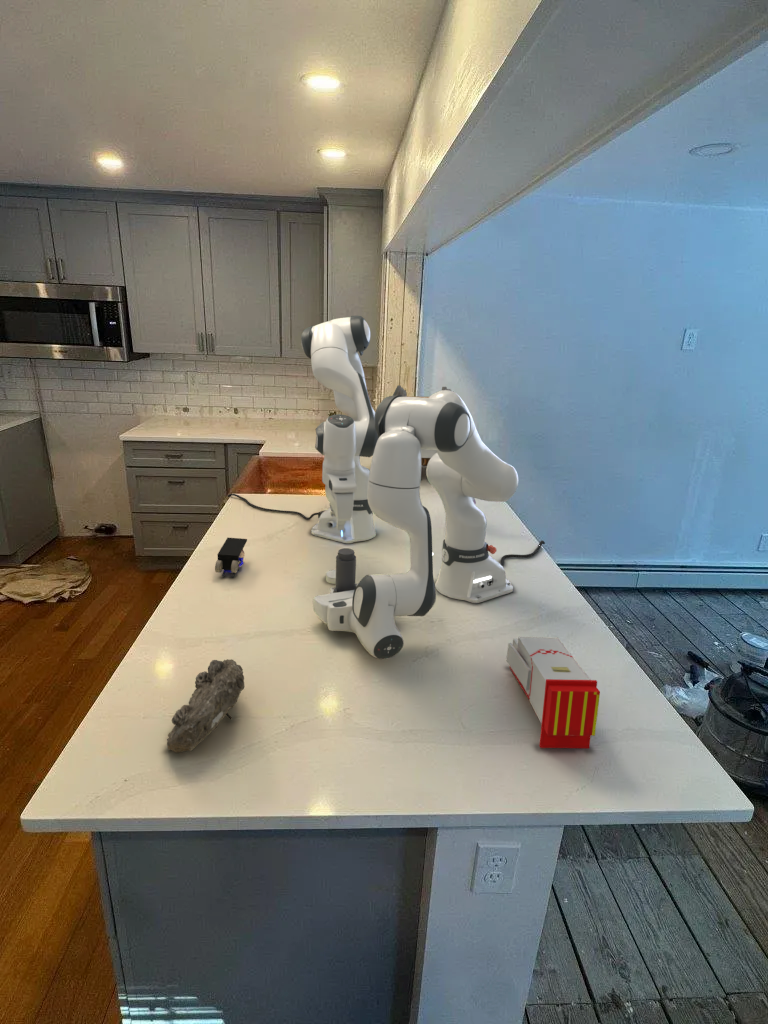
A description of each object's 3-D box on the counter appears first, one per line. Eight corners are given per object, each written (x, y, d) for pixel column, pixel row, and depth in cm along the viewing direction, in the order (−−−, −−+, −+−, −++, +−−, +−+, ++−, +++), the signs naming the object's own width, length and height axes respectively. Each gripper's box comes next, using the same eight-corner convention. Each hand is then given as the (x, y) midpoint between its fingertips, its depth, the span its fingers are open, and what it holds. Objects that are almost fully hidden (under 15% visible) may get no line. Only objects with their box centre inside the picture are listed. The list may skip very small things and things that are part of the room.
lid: (338, 573, 168) (338, 568, 168) (348, 581, 164) (348, 575, 163) (322, 578, 165) (322, 572, 164) (332, 585, 161) (332, 579, 160)
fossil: (192, 660, 117) (244, 628, 112) (224, 691, 120) (276, 661, 115) (142, 746, 98) (202, 712, 93) (182, 779, 101) (242, 748, 96)
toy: (554, 620, 129) (609, 687, 99) (549, 674, 131) (601, 755, 102) (501, 619, 128) (541, 686, 99) (497, 673, 131) (534, 754, 102)
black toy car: (238, 584, 162) (249, 557, 175) (236, 562, 158) (247, 536, 172) (215, 584, 161) (227, 556, 175) (212, 561, 158) (225, 535, 171)
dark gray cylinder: (333, 611, 147) (334, 554, 142) (336, 602, 152) (338, 546, 147) (353, 613, 147) (354, 556, 141) (355, 603, 152) (357, 548, 146)
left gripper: (320, 464, 162) (319, 508, 167) (334, 489, 144) (332, 538, 149) (342, 463, 164) (340, 508, 169) (358, 488, 146) (355, 537, 151)
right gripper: (403, 595, 139) (381, 571, 151) (323, 608, 132) (306, 582, 143) (401, 617, 142) (380, 592, 153) (322, 631, 134) (306, 604, 146)
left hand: (336, 522), depth 159 cm, fingers open, 8 cm apart
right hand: (344, 587), depth 148 cm, fingers closed on dark gray cylinder, 5 cm apart
